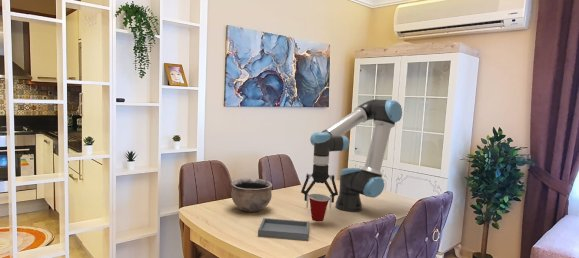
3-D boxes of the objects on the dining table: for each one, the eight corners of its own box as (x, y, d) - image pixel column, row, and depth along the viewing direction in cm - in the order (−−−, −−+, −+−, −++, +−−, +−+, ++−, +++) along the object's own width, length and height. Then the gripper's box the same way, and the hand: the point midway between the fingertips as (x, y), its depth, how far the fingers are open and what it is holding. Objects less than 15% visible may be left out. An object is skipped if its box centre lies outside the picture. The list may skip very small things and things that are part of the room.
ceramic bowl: (275, 206, 203) (277, 180, 202) (264, 218, 182) (265, 189, 181) (238, 202, 208) (239, 176, 207) (223, 213, 187) (224, 185, 186)
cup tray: (308, 227, 173) (309, 221, 173) (307, 240, 157) (308, 233, 157) (263, 224, 175) (263, 217, 174) (257, 236, 159) (258, 229, 158)
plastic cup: (328, 224, 172) (329, 200, 171) (305, 222, 174) (306, 198, 173) (330, 217, 183) (331, 194, 182) (308, 215, 185) (310, 192, 184)
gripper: (344, 163, 179) (341, 207, 181) (297, 161, 181) (295, 204, 183) (345, 166, 171) (342, 211, 173) (296, 164, 173) (294, 208, 175)
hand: (318, 208), depth 178 cm, fingers closed on plastic cup, 11 cm apart
